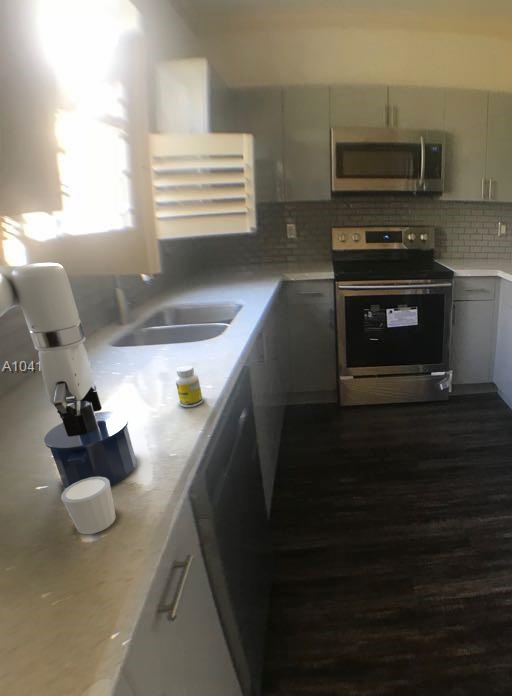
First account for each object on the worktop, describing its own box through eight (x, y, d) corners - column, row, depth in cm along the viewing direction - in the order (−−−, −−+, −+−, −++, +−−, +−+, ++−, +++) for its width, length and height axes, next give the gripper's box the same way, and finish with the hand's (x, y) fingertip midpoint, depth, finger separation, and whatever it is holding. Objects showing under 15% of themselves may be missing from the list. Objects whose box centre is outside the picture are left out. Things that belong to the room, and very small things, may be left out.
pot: (48, 508, 81) (31, 462, 77) (78, 454, 97) (65, 415, 93) (126, 493, 84) (114, 449, 81) (143, 444, 100) (133, 405, 97)
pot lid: (34, 459, 79) (22, 428, 77) (60, 423, 92) (50, 395, 89) (120, 445, 83) (112, 415, 81) (134, 412, 95) (127, 385, 93)
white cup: (103, 504, 82) (92, 472, 79) (128, 515, 79) (118, 482, 76) (63, 529, 76) (51, 495, 73) (90, 542, 73) (77, 506, 70)
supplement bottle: (176, 404, 118) (168, 369, 114) (194, 396, 122) (188, 362, 118) (188, 409, 115) (181, 374, 111) (207, 401, 119) (200, 366, 115)
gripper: (51, 324, 86) (77, 405, 93) (12, 355, 71) (46, 449, 78) (95, 320, 88) (118, 400, 95) (67, 349, 73) (96, 442, 80)
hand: (85, 422), depth 86 cm, fingers open, 9 cm apart
